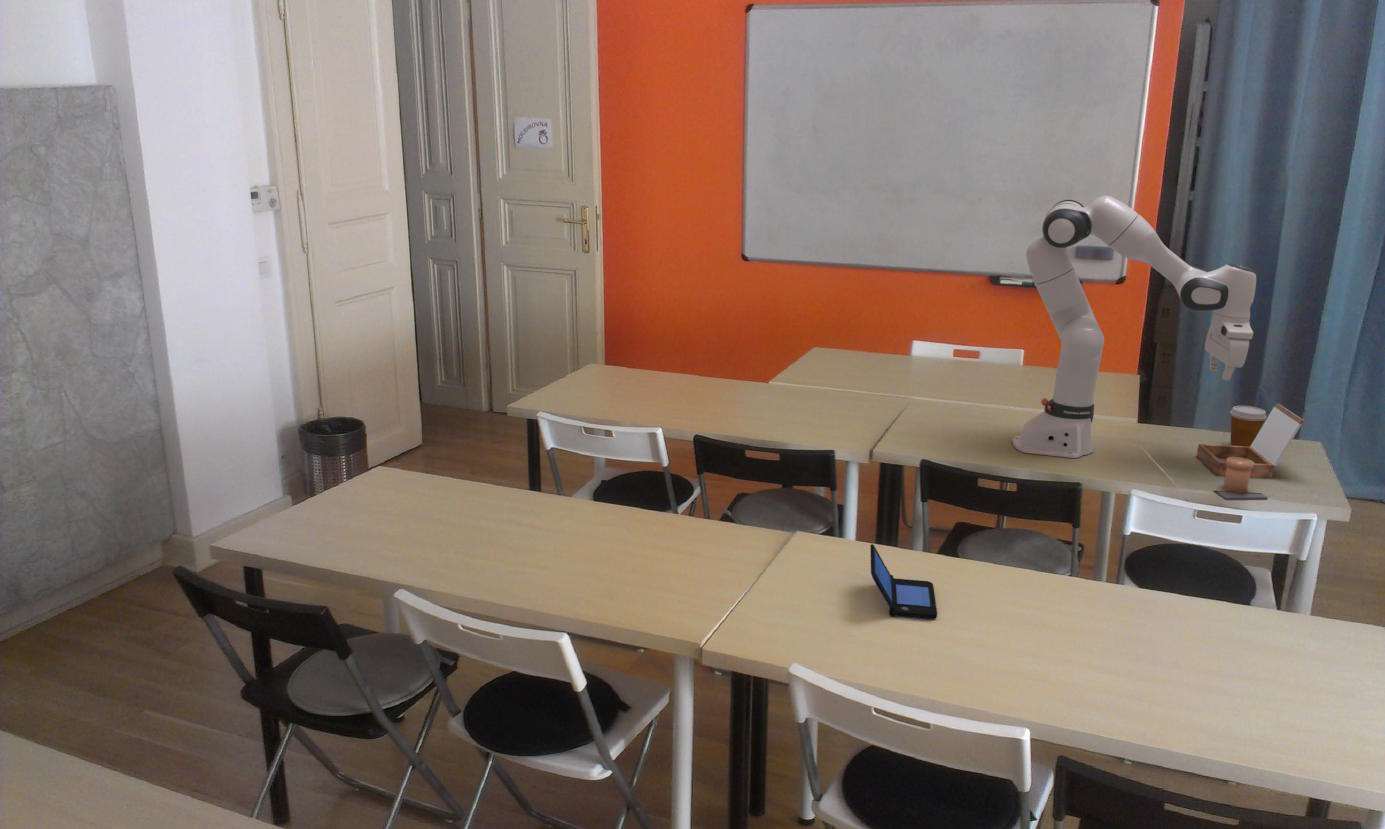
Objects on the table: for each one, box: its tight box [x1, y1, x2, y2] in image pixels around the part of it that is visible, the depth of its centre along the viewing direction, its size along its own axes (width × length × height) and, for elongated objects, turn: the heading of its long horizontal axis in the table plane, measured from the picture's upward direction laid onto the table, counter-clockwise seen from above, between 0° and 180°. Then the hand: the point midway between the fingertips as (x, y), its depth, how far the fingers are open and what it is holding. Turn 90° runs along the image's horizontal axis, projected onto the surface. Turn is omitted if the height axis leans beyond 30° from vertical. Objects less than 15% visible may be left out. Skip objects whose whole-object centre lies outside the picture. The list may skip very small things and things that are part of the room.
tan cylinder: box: [1223, 457, 1254, 494], centre depth 268 cm, size 6×6×8 cm
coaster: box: [1213, 490, 1269, 501], centre depth 270 cm, size 11×11×1 cm
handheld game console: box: [870, 543, 938, 620], centre depth 207 cm, size 16×13×9 cm
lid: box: [1250, 402, 1306, 467], centre depth 282 cm, size 14×16×1 cm
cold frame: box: [1196, 443, 1275, 480], centre depth 285 cm, size 14×16×4 cm
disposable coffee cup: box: [1229, 405, 1268, 447], centre depth 302 cm, size 10×10×12 cm
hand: (1219, 375), depth 279 cm, fingers open, 8 cm apart
